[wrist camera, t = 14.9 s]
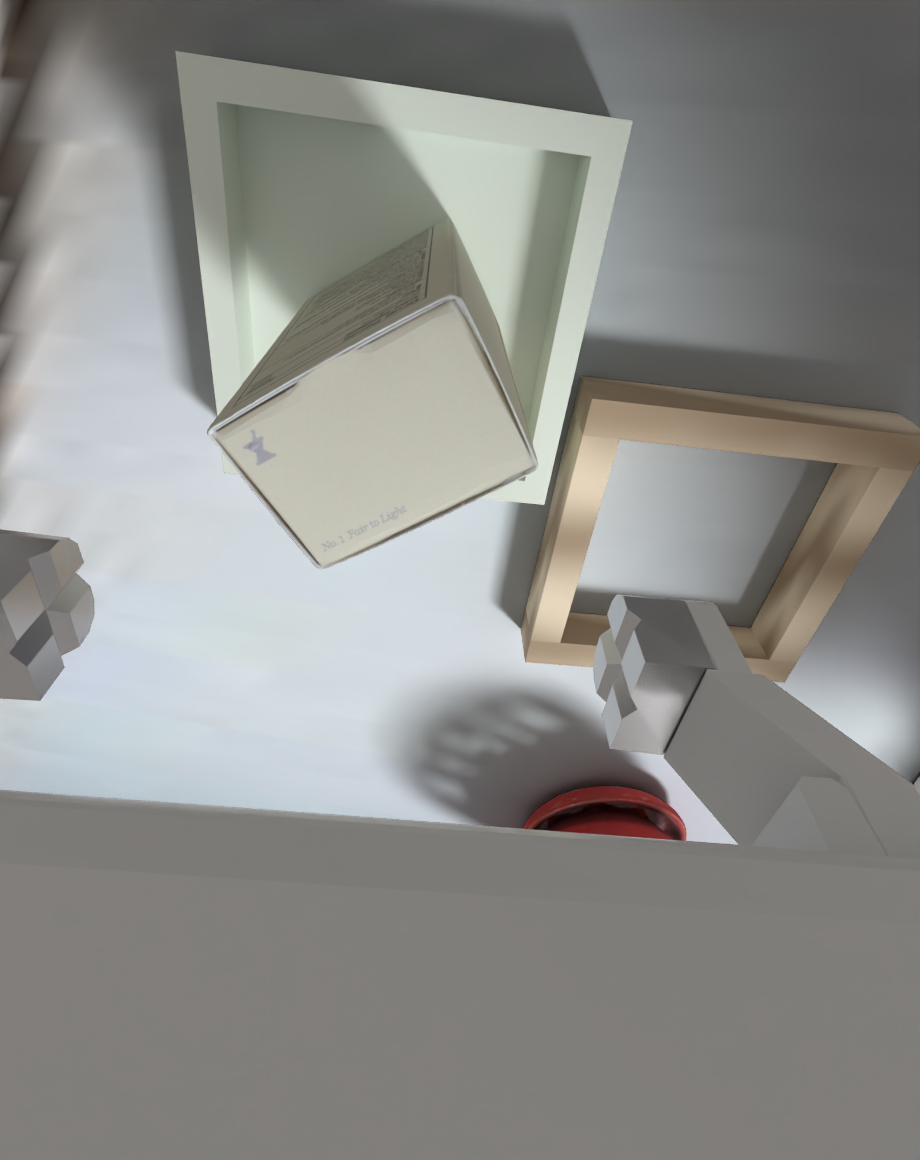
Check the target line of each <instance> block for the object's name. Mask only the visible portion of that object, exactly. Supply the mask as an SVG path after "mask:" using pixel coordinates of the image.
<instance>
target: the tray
mask: <svg viewBox="0 0 920 1160" xmlns="http://www.w3.org/2000/svg"><path fill="white" fill-rule="evenodd" d="M175 53H176V62H177V70H178V79H179V88H180V97H181V105H182V114H183V123H184V131H185V140H186V149H187V157H188V166H189V175H190V183H191V192H192V201H193V209H194V218H195V227H196V236H197V244H198V253H199V262H200V270H201V279H202V288H203V296H204V305H205V314H206V322H207V331H208V340H209V349H210V357H211V366H212V375H213V383H214V392H215V401H216V409H217V416H218V415H219V414H220V412H221V411H222V410H223V408H224V407H225V406H226V404H227V403H228V402H229V401H230V399H231V398H232V397H233V396H234V394H235V393H236V392H237V391H238V389H239V388H240V387H241V385H242V384H243V382H244V381H245V380H246V379H247V377H248V376H249V375H250V373H251V372H252V371H253V369H254V368H255V367H256V366H257V364H258V363H259V362H260V360H261V359H262V358H263V356H264V355H265V354H266V353H267V351H268V350H269V349H270V347H271V346H272V345H273V343H274V342H275V341H276V339H277V338H278V337H279V335H280V334H281V333H282V331H283V330H284V329H285V328H286V327H287V325H288V324H289V322H290V321H291V320H292V319H293V317H294V316H295V315H296V313H297V312H298V311H299V309H300V308H301V307H302V306H303V304H304V303H305V302H306V301H307V300H308V299H309V298H311V297H313V296H314V295H316V294H317V293H319V292H320V291H322V290H324V289H325V288H327V287H328V286H330V285H332V284H333V283H335V282H337V281H338V280H340V279H342V278H343V277H345V276H347V275H348V274H350V273H351V272H353V271H355V270H356V269H358V268H360V267H362V266H363V265H365V264H367V263H369V262H370V261H372V260H374V259H375V258H377V257H379V256H380V255H382V254H384V253H386V252H387V251H389V250H391V249H393V248H394V247H396V246H398V245H400V244H401V243H403V242H405V241H407V240H408V239H410V238H412V237H414V236H416V235H417V234H419V233H421V232H423V231H425V230H426V229H428V228H430V227H432V226H434V225H436V224H438V223H439V222H441V221H443V220H446V219H448V220H451V221H452V222H453V223H454V225H455V227H456V229H457V231H458V234H459V236H460V238H461V240H462V242H463V244H464V246H465V249H466V251H467V253H468V255H469V257H470V260H471V262H472V264H473V266H474V269H475V271H476V273H477V275H478V278H479V280H480V282H481V284H482V287H483V289H484V291H485V294H486V296H487V298H488V301H489V303H490V305H491V308H492V310H493V312H494V315H495V317H496V320H497V322H498V324H499V327H500V330H501V334H502V337H503V341H504V345H505V349H506V352H507V356H508V359H509V363H510V367H511V371H512V374H513V378H514V381H515V384H516V388H517V391H518V395H519V398H520V402H521V405H522V408H523V412H524V416H525V419H526V423H527V427H528V430H529V434H530V437H531V440H532V444H533V447H534V451H535V454H536V457H537V461H538V468H537V470H536V471H534V472H533V473H531V474H529V475H526V476H525V477H523V478H521V479H519V480H517V481H515V482H513V483H511V484H509V485H507V486H505V487H503V488H501V489H499V490H497V491H495V492H492V493H490V494H488V495H486V496H484V497H482V498H480V499H489V500H499V501H509V502H520V503H530V504H540V505H544V504H545V500H546V495H547V491H548V487H549V482H550V478H551V474H552V469H553V465H554V461H555V456H556V452H557V448H558V443H559V439H560V435H561V430H562V426H563V422H564V417H565V413H566V409H567V405H568V400H569V396H570V392H571V387H572V383H573V379H574V374H575V370H576V366H577V361H578V357H579V353H580V348H581V344H582V340H583V335H584V331H585V327H586V322H587V318H588V314H589V309H590V305H591V301H592V296H593V292H594V288H595V283H596V279H597V275H598V270H599V266H600V262H601V257H602V253H603V249H604V244H605V240H606V236H607V231H608V227H609V223H610V218H611V214H612V210H613V205H614V201H615V197H616V192H617V188H618V184H619V179H620V175H621V171H622V166H623V162H624V158H625V154H626V149H627V145H628V141H629V136H630V132H631V128H632V123H633V121H631V120H624V119H618V118H611V117H605V116H598V115H591V114H585V113H578V112H572V111H565V110H559V109H552V108H546V107H539V106H533V105H526V104H520V103H513V102H506V101H500V100H493V99H487V98H480V97H474V96H467V95H461V94H454V93H448V92H441V91H434V90H428V89H421V88H415V87H408V86H402V85H395V84H389V83H382V82H376V81H369V80H362V79H356V78H349V77H343V76H336V75H330V74H323V73H317V72H310V71H304V70H297V69H291V68H284V67H277V66H271V65H264V64H258V63H251V62H245V61H238V60H232V59H225V58H219V57H212V56H205V55H199V54H192V53H186V52H179V51H175ZM221 453H222V451H221ZM222 461H223V470H224V473H228V474H238V475H240V474H239V473H238V472H237V471H236V469H235V468H234V467H233V465H232V464H231V463H230V462H229V461H228V459H227V458H226V457H225V455H224V454H223V453H222Z"/></svg>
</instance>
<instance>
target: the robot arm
mask: <svg viewBox="0 0 920 1160" xmlns="http://www.w3.org/2000/svg"><path fill="white" fill-rule="evenodd" d="M83 563H84V561H83V558H82V555H81V552H80V549H79V546H78V544H77V543H76V542H74V541H73V540H71V539H70V538H66V537H57V536H49V535H41V534H33V533H25V532H17V531H8V530H0V698H2V699H19V700H37V701H40V700H41V699H42V698H43V696H44V695H45V694H46V692H47V691H48V689H49V688H50V687H51V685H52V684H53V683H54V681H55V680H56V678H57V677H58V676H59V674H60V673H61V672H62V670H63V669H64V664H63V660H62V657H61V656H62V655H64V654H66V653H68V652H70V651H72V650H74V649H76V648H77V647H79V646H80V645H81V644H82V642H83V641H84V639H85V638H86V636H87V635H88V633H89V631H90V628H91V624H92V621H93V618H94V598H93V594H92V590H91V586H90V585H88V584H87V583H86V582H85V581H84V580H83V579H82V578H81V577H80V576H79V575H78V574H77V572H78V570H79V569H80V567H81V566H82V564H83ZM607 616H608V619H609V623H610V626H611V628H610V629H608V630H607V631H606V632H604V633H603V634H602V635H600V637H599V641H598V644H597V647H596V651H595V657H594V667H593V671H594V682H595V687H596V692H597V694H598V695H599V696H600V697H601V698H602V699H603V700H604V701H606V705H605V707H604V710H603V713H602V718H603V722H604V726H605V731H606V735H607V739H608V743H609V747H610V749H616V750H625V751H634V752H643V753H652V754H661V755H664V758H665V760H666V761H667V762H668V763H669V764H670V765H671V767H672V768H673V769H674V770H675V771H676V772H677V774H678V775H679V776H680V777H681V778H682V779H683V780H684V782H685V783H686V784H687V785H688V786H689V787H690V789H691V790H692V791H693V792H694V793H695V794H696V796H697V797H698V798H699V799H700V800H701V801H702V803H703V804H704V805H705V806H706V807H707V808H708V810H709V811H710V812H711V813H712V814H713V815H714V817H715V818H716V819H717V820H718V821H719V822H720V824H721V825H722V826H723V827H724V828H725V829H726V831H727V832H728V833H729V834H730V835H731V836H732V838H733V839H734V840H735V841H736V842H737V843H738V845H733V844H720V843H707V842H693V841H680V840H666V839H653V838H640V837H626V836H613V835H599V834H586V833H573V832H559V831H546V830H533V829H519V828H506V827H493V826H480V825H466V824H453V823H440V822H427V821H413V820H400V819H387V818H373V817H360V816H347V815H333V814H320V813H306V812H293V811H280V810H266V809H253V808H239V807H226V806H213V805H199V804H186V803H172V802H159V801H146V800H132V799H119V798H105V797H92V796H79V795H65V794H52V793H39V792H25V791H12V790H0V1160H920V776H919V777H918V779H917V780H916V782H915V783H914V785H913V784H912V783H911V782H909V781H908V780H907V779H905V778H904V777H903V776H901V775H900V774H898V773H897V772H896V771H894V770H893V769H892V768H890V767H889V766H887V765H886V764H885V763H883V762H882V761H881V760H879V759H878V758H876V757H875V756H874V755H872V754H871V753H870V752H868V751H867V750H866V749H864V748H863V747H861V746H860V745H859V744H857V743H856V742H855V741H853V740H852V739H850V738H849V737H848V736H846V735H845V734H844V733H842V732H841V731H839V730H838V729H837V728H835V727H834V726H833V725H831V724H830V723H828V722H827V721H826V720H824V719H823V718H822V717H820V716H819V715H817V714H816V713H815V712H813V711H812V710H811V709H809V708H808V707H806V706H805V705H804V704H802V703H801V702H800V701H798V700H797V699H795V698H794V697H793V696H791V695H790V694H789V693H787V692H786V691H784V690H783V689H782V688H780V687H779V686H778V685H776V684H775V683H773V682H772V681H771V680H769V679H768V678H767V677H765V676H764V675H762V674H753V673H752V671H751V669H750V668H749V666H748V664H747V662H746V660H745V658H744V656H743V654H742V652H741V650H740V649H739V647H738V645H737V643H736V641H735V639H734V637H733V635H732V633H731V631H730V630H729V628H728V626H727V624H726V622H725V620H724V618H723V616H722V614H721V612H720V611H719V609H718V607H717V605H715V604H714V603H712V602H711V601H697V600H684V599H680V600H672V599H662V598H651V597H640V596H629V595H619V594H617V595H616V596H615V598H614V599H613V601H612V602H611V605H610V608H609V611H608V613H607Z"/></svg>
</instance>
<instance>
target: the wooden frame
mask: <svg viewBox="0 0 920 1160" xmlns="http://www.w3.org/2000/svg"><path fill="white" fill-rule="evenodd" d="M620 439H621V440H630V441H640V442H649V443H658V444H667V445H676V446H685V447H695V448H704V449H713V450H722V451H731V452H740V453H749V454H759V455H768V456H777V457H786V458H795V459H804V460H814V461H823V462H832V463H837V465H836V467H835V469H834V471H833V473H832V475H831V477H830V479H829V480H828V482H827V484H826V486H825V488H824V490H823V492H822V494H821V496H820V497H819V499H818V501H817V503H816V505H815V507H814V509H813V511H812V513H811V515H810V516H809V518H808V520H807V522H806V524H805V526H804V528H803V530H802V532H801V534H800V535H799V537H798V539H797V541H796V543H795V545H794V547H793V549H792V551H791V552H790V554H789V556H788V558H787V560H786V562H785V564H784V566H783V568H782V570H781V571H780V573H779V575H778V577H777V579H776V581H775V583H774V585H773V587H772V588H771V590H770V592H769V594H768V596H767V598H766V600H765V602H764V604H763V606H762V607H761V609H760V611H759V613H758V615H757V617H756V619H755V621H754V623H753V624H752V626H751V628H749V627H737V626H728V628H729V630H730V631H731V633H732V635H733V637H734V639H735V641H736V643H737V645H738V647H739V649H740V650H741V652H742V654H743V656H744V658H745V660H746V662H747V664H748V666H749V668H750V669H751V671H752V673H753V674H762V675H764V676H765V677H767V678H768V679H769V680H771V681H775V682H785V681H786V679H787V677H788V676H789V674H790V673H791V671H792V669H793V668H794V666H795V664H796V663H797V661H798V660H799V658H800V656H801V655H802V653H803V651H804V650H805V648H806V646H807V645H808V643H809V642H810V640H811V638H812V637H813V635H814V633H815V632H816V630H817V629H818V627H819V625H820V624H821V622H822V620H823V619H824V617H825V615H826V614H827V612H828V611H829V609H830V607H831V606H832V604H833V602H834V601H835V599H836V597H837V596H838V594H839V593H840V591H841V589H842V588H843V586H844V584H845V583H846V581H847V580H848V578H849V576H850V575H851V573H852V571H853V570H854V568H855V566H856V565H857V563H858V562H859V560H860V558H861V557H862V555H863V553H864V552H865V550H866V548H867V547H868V545H869V544H870V542H871V540H872V539H873V537H874V535H875V534H876V532H877V531H878V529H879V527H880V526H881V524H882V522H883V521H884V519H885V517H886V516H887V514H888V513H889V511H890V509H891V508H892V506H893V504H894V503H895V501H896V499H897V498H898V496H899V495H900V493H901V491H902V490H903V488H904V486H905V485H906V483H907V482H908V480H909V478H910V477H911V475H912V473H913V472H914V470H915V468H916V467H917V465H918V464H919V462H920V428H919V427H918V426H917V425H915V424H914V423H912V422H911V421H909V420H908V419H906V418H905V417H903V416H902V415H901V414H899V413H892V412H884V411H875V410H867V409H858V408H850V407H841V406H833V405H824V404H816V403H807V402H799V401H790V400H782V399H773V398H765V397H756V396H747V395H739V394H730V393H722V392H713V391H705V390H696V389H688V388H679V387H671V386H662V385H654V384H645V383H637V382H628V381H620V380H611V379H603V378H594V377H585V376H581V379H580V383H579V387H578V391H577V396H576V400H575V404H574V408H573V412H572V417H571V421H570V425H569V429H568V433H567V438H566V442H565V446H564V450H563V454H562V459H561V463H560V467H559V471H558V475H557V480H556V484H555V488H554V492H553V496H552V501H551V505H550V509H549V513H548V517H547V522H546V526H545V530H544V534H543V538H542V543H541V547H540V551H539V555H538V559H537V564H536V568H535V572H534V576H533V581H532V585H531V589H530V593H529V597H528V602H527V606H526V610H525V614H524V618H523V623H522V627H521V635H522V642H523V649H524V657H525V662H531V663H544V664H556V665H569V666H582V667H594V657H595V651H596V647H597V644H598V641H599V637H600V635H602V634H603V633H604V632H606V631H607V630H608V629H610V628H611V626H610V623H609V619H608V616H607V615H596V614H584V613H573V612H569V611H570V608H571V604H572V601H573V597H574V594H575V591H576V587H577V584H578V580H579V577H580V573H581V570H582V567H583V563H584V560H585V556H586V553H587V550H588V546H589V543H590V539H591V536H592V532H593V529H594V526H595V522H596V519H597V515H598V512H599V509H600V505H601V502H602V498H603V495H604V491H605V488H606V485H607V481H608V478H609V474H610V471H611V467H612V464H613V461H614V457H615V454H616V450H617V447H618V444H619V440H620Z"/></svg>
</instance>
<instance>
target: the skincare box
mask: <svg viewBox="0 0 920 1160" xmlns="http://www.w3.org/2000/svg"><path fill="white" fill-rule="evenodd" d="M207 434H208V435H209V437H210V438H211V439H212V440H213V441H214V443H215V444H216V445H217V446H218V447H219V448H220V450H221V451H222V453H223V454H224V455H225V457H226V458H227V459H228V461H229V462H230V463H231V464H232V465H233V467H234V468H235V469H236V471H237V472H238V473H239V474H240V475H241V477H242V478H243V480H244V481H245V482H246V483H247V484H248V486H249V487H250V488H251V490H252V491H253V492H254V494H255V495H256V496H257V497H258V498H259V500H260V501H261V502H262V503H263V504H264V506H265V507H266V508H267V509H268V511H269V512H270V513H271V514H272V515H273V517H274V518H275V519H276V521H277V522H278V524H279V525H280V526H281V527H282V528H283V529H284V530H285V532H286V533H287V534H288V535H289V536H290V538H291V539H292V540H293V541H294V542H295V543H296V545H297V546H298V547H299V548H300V549H301V550H302V552H303V553H304V554H305V555H306V556H307V557H308V558H309V560H310V561H311V562H312V564H313V565H314V566H316V567H317V568H319V569H326V568H329V567H331V566H334V565H336V564H338V563H341V562H344V561H346V560H348V559H350V558H353V557H355V556H358V555H360V554H363V553H365V552H367V551H369V550H371V549H373V548H376V547H378V546H380V545H383V544H385V543H387V542H389V541H391V540H393V539H395V538H398V537H400V536H402V535H404V534H407V533H409V532H411V531H413V530H416V529H418V528H420V527H422V526H423V525H425V524H427V523H430V522H432V521H434V520H436V519H438V518H441V517H443V516H445V515H447V514H449V513H451V512H453V511H455V510H457V509H459V508H461V507H464V506H466V505H468V504H470V503H472V502H474V501H476V500H478V499H480V498H482V497H484V496H486V495H488V494H490V493H492V492H495V491H497V490H499V489H501V488H503V487H505V486H507V485H509V484H511V483H513V482H515V481H517V480H519V479H521V478H523V477H525V476H526V475H529V474H531V473H533V472H534V471H536V470H537V468H538V461H537V457H536V454H535V451H534V447H533V444H532V440H531V437H530V434H529V430H528V427H527V423H526V419H525V416H524V412H523V408H522V405H521V402H520V398H519V395H518V391H517V388H516V384H515V381H514V378H513V374H512V371H511V367H510V363H509V359H508V356H507V352H506V349H505V345H504V341H503V337H502V334H501V330H500V327H499V324H498V322H497V320H496V317H495V315H494V312H493V310H492V308H491V305H490V303H489V301H488V298H487V296H486V294H485V291H484V289H483V287H482V284H481V282H480V280H479V278H478V275H477V273H476V271H475V269H474V266H473V264H472V262H471V260H470V257H469V255H468V253H467V251H466V249H465V246H464V244H463V242H462V240H461V238H460V236H459V234H458V231H457V229H456V227H455V225H454V223H453V222H452V221H451V220H448V219H446V220H443V221H441V222H439V223H438V224H436V225H434V226H432V227H430V228H428V229H426V230H425V231H423V232H421V233H419V234H417V235H416V236H414V237H412V238H410V239H408V240H407V241H405V242H403V243H401V244H400V245H398V246H396V247H394V248H393V249H391V250H389V251H387V252H386V253H384V254H382V255H380V256H379V257H377V258H375V259H374V260H372V261H370V262H369V263H367V264H365V265H363V266H362V267H360V268H358V269H356V270H355V271H353V272H351V273H350V274H348V275H347V276H345V277H343V278H342V279H340V280H338V281H337V282H335V283H333V284H332V285H330V286H328V287H327V288H325V289H324V290H322V291H320V292H319V293H317V294H316V295H314V296H313V297H311V298H309V299H308V300H307V301H306V302H305V303H304V304H303V306H302V307H301V308H300V309H299V311H298V312H297V313H296V315H295V316H294V317H293V319H292V320H291V321H290V322H289V324H288V325H287V327H286V328H285V329H284V330H283V331H282V333H281V334H280V335H279V337H278V338H277V339H276V341H275V342H274V343H273V345H272V346H271V347H270V349H269V350H268V351H267V353H266V354H265V355H264V356H263V358H262V359H261V360H260V362H259V363H258V364H257V366H256V367H255V368H254V369H253V371H252V372H251V373H250V375H249V376H248V377H247V379H246V380H245V381H244V382H243V384H242V385H241V387H240V388H239V389H238V391H237V392H236V393H235V394H234V396H233V397H232V398H231V399H230V401H229V402H228V403H227V404H226V406H225V407H224V408H223V410H222V411H221V412H220V414H219V415H218V416H217V418H216V419H215V420H214V422H213V423H212V424H211V425H210V427H209V428H208V431H207Z"/></svg>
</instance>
